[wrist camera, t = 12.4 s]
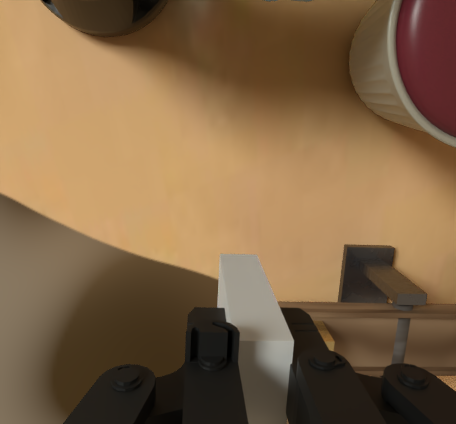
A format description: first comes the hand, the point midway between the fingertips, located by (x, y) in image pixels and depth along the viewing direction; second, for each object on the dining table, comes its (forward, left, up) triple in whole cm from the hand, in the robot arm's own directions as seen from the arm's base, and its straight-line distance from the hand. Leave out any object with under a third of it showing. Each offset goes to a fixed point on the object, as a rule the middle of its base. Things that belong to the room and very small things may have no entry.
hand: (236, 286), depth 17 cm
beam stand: (+15, +20, -32) cm, 41 cm away
